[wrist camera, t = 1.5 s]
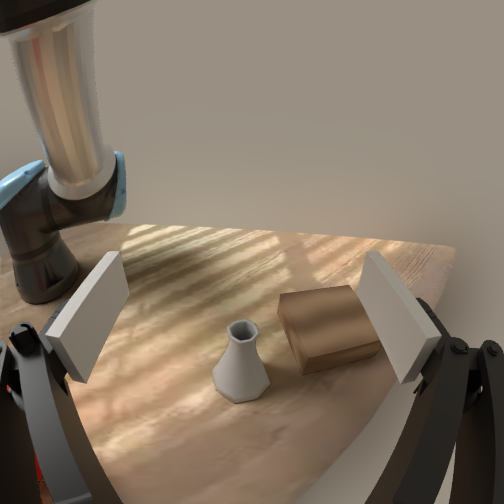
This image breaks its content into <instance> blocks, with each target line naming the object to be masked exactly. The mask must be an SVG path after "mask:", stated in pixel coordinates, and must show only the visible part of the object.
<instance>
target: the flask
mask: <svg viewBox="0 0 504 504" xmlns="http://www.w3.org/2000/svg"><path fill="white" fill-rule="evenodd" d="M227 331H228V335H229V338H230V341H229V344H228V347H227V350H226V351H225V353H224V355H223V356H222V358H221V359H220V361H219V362H218V364H217V365H216V366H215V368H214V369H213V371H212V376H213V380H214V384H215V388H216V391H217V392H219V393H220V394H222V395H223V396H224V397H226V398H227V399H228V400H230V401H231V402H233V403H239V402H244V401H249V400H254V399H257V398H258V397H259V396H260V395H261V394H262V393H263V392H264V390H265V389H266V388H267V387H268V386H269V385H270V384H271V383H270V381H269V378H268V375H267V373H266V370H265V368H264V365H263V363H262V361H261V360H260V358H259V356H258V354H257V350H256V339H257V338H258V337H259V335H260V333H259V330H258V328H257V325H256V324H255V323H253V322H251V321H250V320H248V319H242V320H235V321H234V322H233V323H231V324H230V325H229V326H228V327H227Z"/></svg>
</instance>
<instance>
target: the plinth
mask: <svg viewBox="0 0 504 504" xmlns="http://www.w3.org/2000/svg"><path fill="white" fill-rule="evenodd" d="M277 313H278V315H279V318H280V320H281V323H282V325H283V328H284V330H285V333H286V335H287V338H288V340H289V343H290V345H291V348H292V351H293V353H294V356H295V358H296V361H297V363H298V366H299V368H300V371H301V373H302V375H303V374H308V373H312V372H316V371H320V370H324V369H328V368H332V367H336V366H340V365H344V364H347V363H351V362H354V361H358V360H361V359H364V358H368V357H371V356H374V355H376V353H377V352H378V350H379V348H380V347H381V345H382V343H381V341H380V339H379V337H378V335H377V333H376V331H375V329H374V327H373V325H372V323H371V321H370V319H369V317H368V315H367V313H366V311H365V309H364V307H363V305H362V303H361V301H360V300H359V298H358V297H357V295H356V294H355V293H354V291H353V290H352V288H351V287H350V286H349V285H344V286H337V287H330V288H323V289H316V290H308V291H300V292H292V293H284V294H280V300H279V306H278V312H277Z"/></svg>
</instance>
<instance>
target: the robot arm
mask: <svg viewBox="0 0 504 504" xmlns="http://www.w3.org/2000/svg"><path fill="white" fill-rule="evenodd" d="M99 1H100V0H0V37H1V38H6V39H8V41H9V46H10V50H11V55H12V59H13V63H14V67H15V71H16V75H17V78H18V82H19V85H20V89H21V92H22V95H23V98H24V101H25V104H26V107H27V110H28V113H29V115H30V118H31V121H32V123H33V126H34V129H35V131H36V133H37V136H38V139H39V141H40V143H41V145H42V148H43V150H44V152H45V155H46V157H47V159H48V162H49V164H50V166H49V167H45V163H44V161H43V160H39V161H35V162H32V163H30V164H28V165H26V166H24V167H22V168H20V169H18V170H16V171H15V172H13V173H11V174H10V175H8V176H7V177H5V178H4V179H2V180H1V181H0V227H1V229H2V233H3V236H4V238H5V241H6V244H7V246H8V249H9V252H10V254H11V257H12V260H13V267H14V275H15V282H16V287H17V290H18V292H19V294H20V296H21V298H22V299H23V300H24V301H26V302H28V303H33V304H38V303H44V302H48V301H50V300H53V299H55V298H57V297H59V296H60V295H62V294H63V293H64V292H66V291H67V290H68V289H69V288H70V287H71V286H72V285H73V283H74V282H75V280H76V279H77V276H78V273H79V268H78V265H77V261H76V259H75V257H74V255H73V254H72V253H71V251H70V250H69V248H68V247H67V245H66V244H65V242H64V241H63V240H62V238H61V236H60V233H59V230H62V229H66V228H70V227H75V226H79V225H84V224H88V223H93V222H97V221H102V220H104V221H108V220H109V219H111V218H115V217H119V216H121V215H122V214H123V213H124V211H125V209H126V171H125V161H124V155H123V153H121V152H119V151H118V152H116V151H113V149H112V147H111V146H110V145H109V144H108V143H107V142H106V141H104V140H103V139H102V133H101V126H100V119H99V112H98V102H97V93H96V82H95V68H94V45H93V17H94V16H93V15H94V6H95V5H96V3H98V2H99ZM129 295H130V291H129V287H128V283H127V279H126V276H125V271H124V267H123V263H122V259H121V254H120V251H108V252H107V253H106V254H105V256H104V257H103V258H102V259H101V260H100V262H99V263H98V264H97V265H96V266H95V268H94V269H93V270H92V271H91V273H90V274H89V275H88V276H87V278H86V279H85V280H84V281H83V283H82V284H81V285H80V287H79V288H78V289H77V291H76V292H75V293H74V294H73V296H72V297H71V298H67V299H66V300H65V301H64V302H62V303H61V304H60V305H59V306H58V308H57V309H56V310H55V313H53V315H52V316H51V318H50V319H49V320H48V322H47V323H46V325H45V326H44V327H43V329H42V330H41V332H40V333H39V335H38V334H37V332H36V331H35V329H34V327H33V325H32V324H31V323H30V322H22V323H19V324H17V325H16V326H15V327H14V328H12V330H11V331H10V333H9V339H10V341H11V342H12V344H13V346H14V347H15V348H11V349H9V347H8V345H7V344H6V342H5V341H3V340H0V504H42V502H41V497H40V491H39V486H38V479H37V472H36V463H35V453H36V457H37V460H38V463H39V466H40V469H41V472H42V475H43V477H44V480H45V483H46V485H47V488H48V490H49V493H50V495H51V497H52V500H53V502H54V504H123V503H122V501H121V500H120V498H119V497H118V495H117V493H116V492H115V490H114V488H113V487H112V485H111V483H110V481H109V480H108V478H107V476H106V474H105V472H104V470H103V469H102V467H101V465H100V463H99V461H98V459H97V457H96V455H95V453H94V451H93V448H92V446H91V444H90V442H89V440H88V437H87V435H86V433H85V430H84V428H83V425H82V423H81V420H80V418H79V415H78V413H77V410H76V407H75V404H74V402H73V399H72V396H71V393H70V390H69V386H68V383H67V381H66V380H65V378H64V377H65V375H66V373H67V372H68V374H69V375H70V377H71V378H72V380H74V381H78V382H82V383H87V381H88V379H89V376H90V374H91V372H92V370H93V367H94V365H95V363H96V361H97V359H98V356H99V354H100V352H101V350H102V348H103V346H104V344H105V342H106V340H107V337H108V335H109V333H110V331H111V329H112V327H113V325H114V323H115V321H116V319H117V318H118V316H119V314H120V312H121V310H122V308H123V306H124V304H125V302H126V300H127V299H128V297H129ZM357 296H358V297H359V299H360V301H361V303H362V305H363V307H364V309H365V311H366V313H367V315H368V317H369V319H370V321H371V323H372V325H373V327H374V329H375V331H376V333H377V335H378V337H379V339H380V341H381V343H382V345H383V347H384V349H385V351H386V353H387V356H388V358H389V360H390V362H391V364H392V366H393V369H394V371H395V373H396V375H397V377H398V380H399V382H400V384H404V383H407V382H411V381H415V379H416V378H417V376H418V375H419V373H420V372H421V374H422V376H423V379H422V381H421V382H420V384H419V385H418V387H417V388H416V389H415V391H414V392H413V393H414V394H415V393H416V392H417V395H416V397H415V400H414V403H413V406H412V408H411V411H410V414H409V416H408V419H407V421H406V424H405V426H404V429H403V431H402V434H401V436H400V438H399V440H398V443H397V445H396V447H395V449H394V451H393V453H392V455H391V457H390V460H389V461H388V463H387V465H386V467H385V469H384V471H383V473H382V475H381V477H380V478H379V480H378V482H377V484H376V486H375V487H374V489H373V491H372V492H371V494H370V496H369V497H368V499H367V500H366V502H365V504H434V502H435V500H436V497H437V495H438V493H439V490H440V488H441V485H442V482H443V480H444V477H445V474H446V471H447V468H448V465H449V462H450V459H451V456H452V453H453V449H454V446H455V442H456V451H455V463H454V474H453V482H452V488H451V495H450V500H449V504H504V353H503V350H502V348H501V347H500V346H499V345H498V343H496V342H495V341H492V340H486V341H484V343H483V344H482V346H481V347H480V349H478V348H469V346H468V345H467V343H466V342H464V341H463V340H461V339H460V338H456V337H451V336H450V335H449V333H448V332H447V330H446V329H445V327H444V326H443V325H442V323H441V322H440V320H439V319H438V318H437V316H436V315H435V314H434V312H433V311H432V309H431V308H430V307H429V305H428V304H427V303H426V302H424V301H423V300H422V299H420V298H415V297H414V296H413V294H412V293H411V292H410V290H409V289H408V288H407V286H406V285H405V284H404V282H403V281H402V280H401V279H400V277H399V276H398V275H397V273H396V272H395V271H394V270H393V268H392V267H391V266H390V265H389V263H388V262H387V261H386V260H385V259H384V257H383V256H382V255H381V254H380V253H379V252H366V256H365V261H364V265H363V269H362V274H361V278H360V282H359V286H358V290H357ZM7 385H8V386H9V392H8V391H7ZM481 386H482V388H483V389H482V392H481ZM34 450H35V453H34Z"/></svg>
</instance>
